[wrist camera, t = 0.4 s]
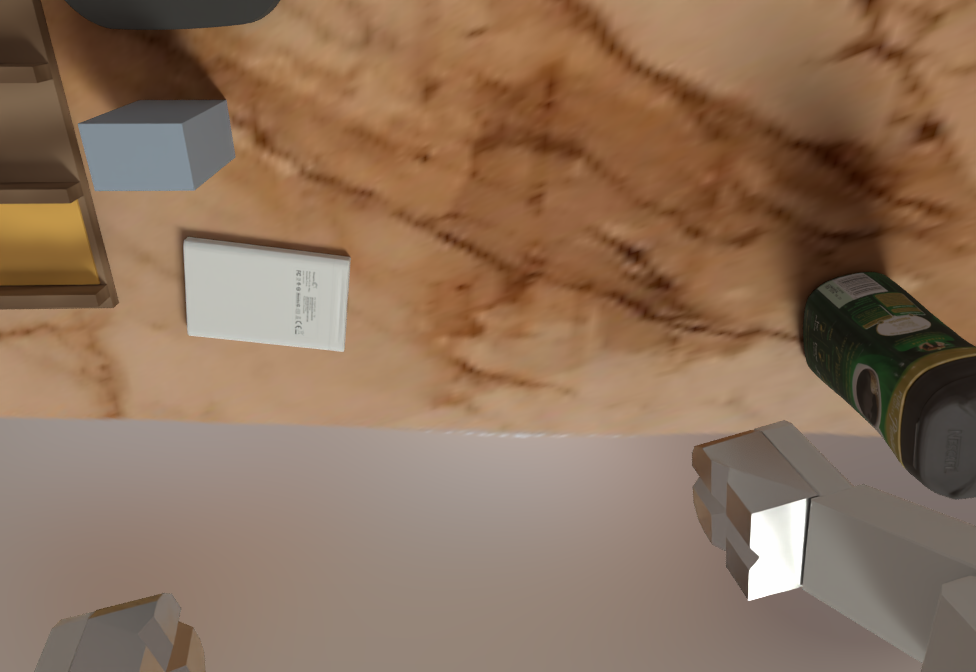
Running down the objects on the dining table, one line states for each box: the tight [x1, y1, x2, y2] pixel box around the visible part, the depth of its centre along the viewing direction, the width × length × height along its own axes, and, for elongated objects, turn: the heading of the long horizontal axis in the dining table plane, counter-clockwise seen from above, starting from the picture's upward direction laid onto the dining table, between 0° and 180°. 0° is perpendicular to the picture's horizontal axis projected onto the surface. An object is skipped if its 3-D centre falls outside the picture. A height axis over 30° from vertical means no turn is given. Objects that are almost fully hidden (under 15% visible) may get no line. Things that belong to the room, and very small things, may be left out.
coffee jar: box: [803, 272, 976, 499], centre depth 51 cm, size 10×8×19 cm
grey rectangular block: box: [78, 100, 235, 191], centre depth 46 cm, size 4×6×9 cm, turn 90°
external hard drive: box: [183, 237, 351, 352], centre depth 56 cm, size 2×8×12 cm
